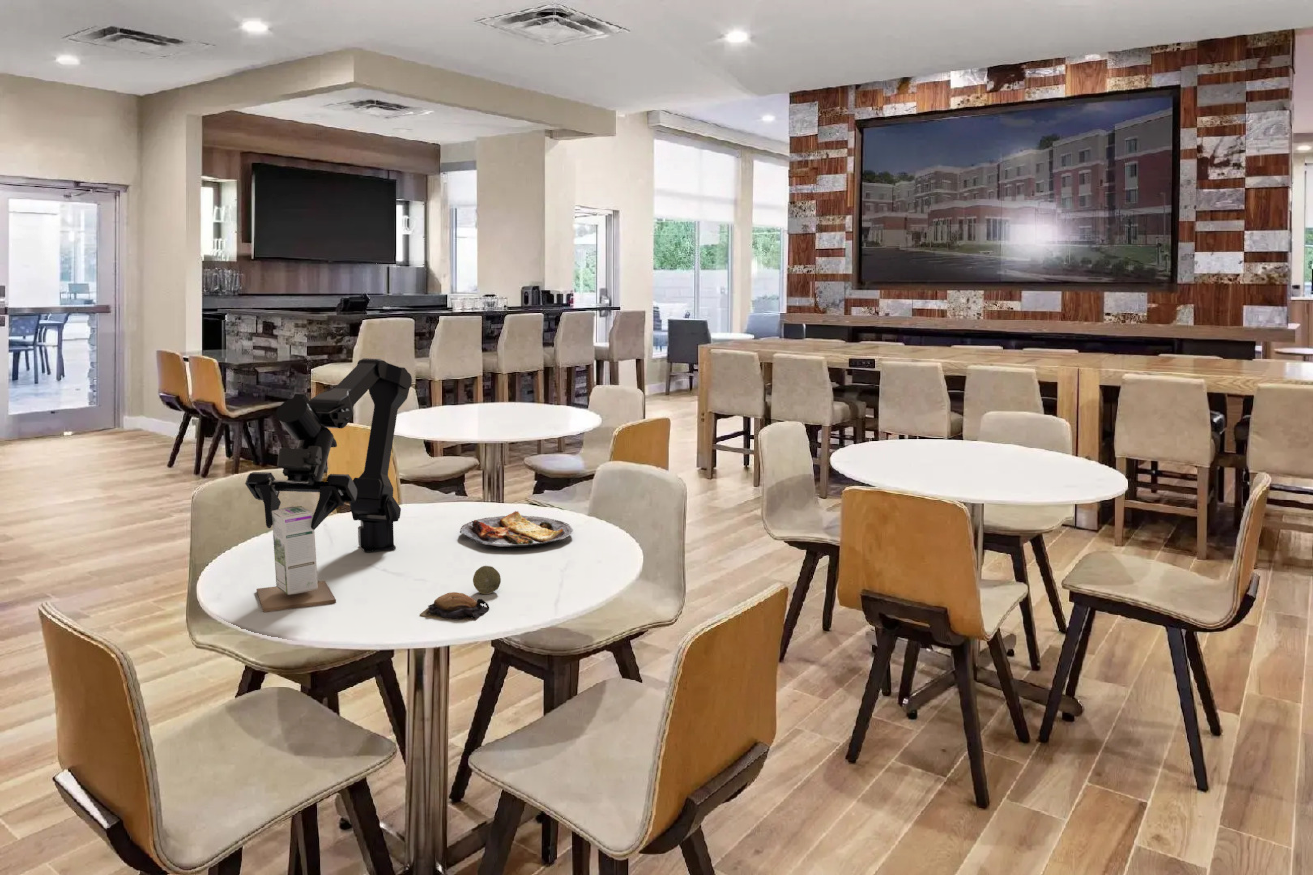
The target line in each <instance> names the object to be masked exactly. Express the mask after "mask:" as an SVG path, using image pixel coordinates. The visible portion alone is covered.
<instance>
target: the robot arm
mask: <svg viewBox="0 0 1313 875" xmlns="http://www.w3.org/2000/svg"><path fill="white" fill-rule="evenodd" d="M412 378H413V377H412V375H411V374H410V372H408V370H407V368H405V367H401V366H399V365H398V366H397V365H394V364H391V363H388V362H387V361H385V360H382V359H381V358H366V357H365V358H360V359H359V360H358V361H357V364H356V366H355V367H353V369H352V370H351V371H350V372H349V373H348V374H347V375H346V376H345V377H344V378H343V379H342V380H341V381H340V382H338V383H337V385H336V386H335V387H334V388H332V389H331V390H327V391H324V392H320V393H319V394H316V395H315V396H314V397H312V398H311V399H310V400H309V398H308V396H307V394H305V393H295V394H294V395H293V397H292V398H289V399H287V400H286V401H284V402H283V403H282V404H281V405H279V406H277V409H276V411H275V412H276V413H275V416H276V419H277V420H278V421H279V422H280V424H281V425H282V426H283V427H284V429H285V430H286V432H287V433H288V434H289V435H290V437H291V438H292V439H294V440H295V441H296V440H297V441H298V444H297V446H296V448H287V447H285V448H284V447H281V448H279V449H278V456H277V461H276V462H277V463H276V466H277V467H278V468H282V469H283V470H282V474H283V476H284V477H287V479H276V478H275V477H274V476H275V475H273V473H272V472H271V471H270V472H264V471H262V472H261V471H252V472H250V473H249V474H248V475H247V478H246V480H245V483H244V485H245V486H246V487H247V489H248V490H249V491H250V493H251V494H252V496H253V497H254V499H256V500H258V501H262V502H263V505H264V513H265V514H264V515H265V526H266V528H267V529H271V528H272V527H273V525H272V511H274V510H278V509H280V506H281V500H280V499H279V496H280V492H297V493H318V494H319V496H318V497H319V498H318V501H317V504H316V507H315V509H314V512H313V518H312V523H311V528H312V529H313V530H314V531H315V530H316V528H318V527H319V526H320V524H321V523H323V521H324V520H326V519H327V517H328V516H330V514H331V513H333V512H334V511H335V510H336V509H338V507H341V506H342V507H343V506H345V503H349V508H350V512H351V516H352V520H353V521H359V522H360V525H358V527H357V540H358V546H359V547H360V548H361V549H362V550H363V552H364V553H373V552H382V551H383V552H384V551H390V550H396V549H397V547H396V545H395V541H394V539H395V538H394V536H395V535H394V523H395V522H399V519H400V518H401V513H402V512H401V510H402V508H401V506H400V505H399V504H398V502H397V501H396V499H395V498H394V487H393V485H392V482H391V480H390V478H389V469H390V462H391V456H392V449H393V443H394V437H395V431H396V425H397V424H396V423H397V417H398V411H399V409H400V408H401V406H402V405H403V404H404V403H405V402H406V401H407V399H408V396H409V392H410V388H411V387H412V383H413V379H412ZM367 392H368V393H369V395H370V398H371V400H372V402H373V406H374V407H373V413H372V420H371V425H370V432H369V437H368V445H367V450H366V457H365V463H364V468H363V472H362V473H361V474H360V476H359V477H354V478H352V476H350V474H344V473H342V474H340V473H339V474H338V473H337V474H336V473H329V474H328V475H327V478H326V481H322V480H323V476H324V473H328V470H329V467H328V466H327V462H328V458H329V454H330V453H331V452H330V451H331V448H337V446H338V443H337V440H336V439H335V437H334V433H332V430H330V429H344V428H345V427H346V426H347V425H348V424H349V422H350V420H351V419H352V417H353V416H354V406H355V405H356V404H357V403H358V401H360V399H361V398H362V397H363V396H364V395H365V394H366V393H367Z"/></svg>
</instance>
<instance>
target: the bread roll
mask: <svg viewBox="0 0 1313 875" xmlns="http://www.w3.org/2000/svg"><path fill="white" fill-rule="evenodd" d="M489 610H490V606H489V604H488V602H486V601H485V600H483V599H482V598H478V599H477V600H475V599H473V597H471V596H469V595H467V594H466V593H463V592H455V591H453V592H451V591H450V592H447V593H444V594H443V595H440V596H438V597H437V598H435V600H434V601H433V603H432V604H429V605H427V608H426V609H424V611H422V612H420V613H419V617H421V618H430V619H440V620H449V621H450V620H452V621H453V620H454V621H471V622H472V621H478V619H480V617H482V616H484V615H485V614H486V613H488V612H489Z"/></svg>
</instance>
